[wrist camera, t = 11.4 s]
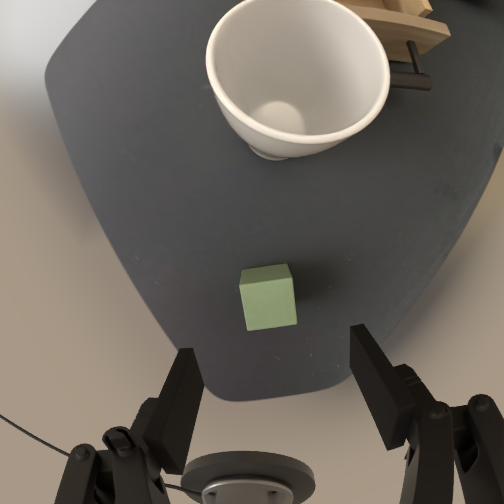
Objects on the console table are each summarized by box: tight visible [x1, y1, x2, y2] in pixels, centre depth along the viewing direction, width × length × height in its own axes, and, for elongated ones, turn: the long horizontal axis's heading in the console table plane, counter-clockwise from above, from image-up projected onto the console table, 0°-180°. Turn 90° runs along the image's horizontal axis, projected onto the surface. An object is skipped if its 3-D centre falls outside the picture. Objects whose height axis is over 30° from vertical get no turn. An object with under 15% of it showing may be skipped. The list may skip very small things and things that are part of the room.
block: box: [239, 263, 297, 331], centre depth 24 cm, size 4×4×4 cm
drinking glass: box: [206, 0, 390, 161], centre depth 15 cm, size 7×7×15 cm
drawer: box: [334, 0, 451, 91], centre depth 15 cm, size 18×10×7 cm, turn 9°
